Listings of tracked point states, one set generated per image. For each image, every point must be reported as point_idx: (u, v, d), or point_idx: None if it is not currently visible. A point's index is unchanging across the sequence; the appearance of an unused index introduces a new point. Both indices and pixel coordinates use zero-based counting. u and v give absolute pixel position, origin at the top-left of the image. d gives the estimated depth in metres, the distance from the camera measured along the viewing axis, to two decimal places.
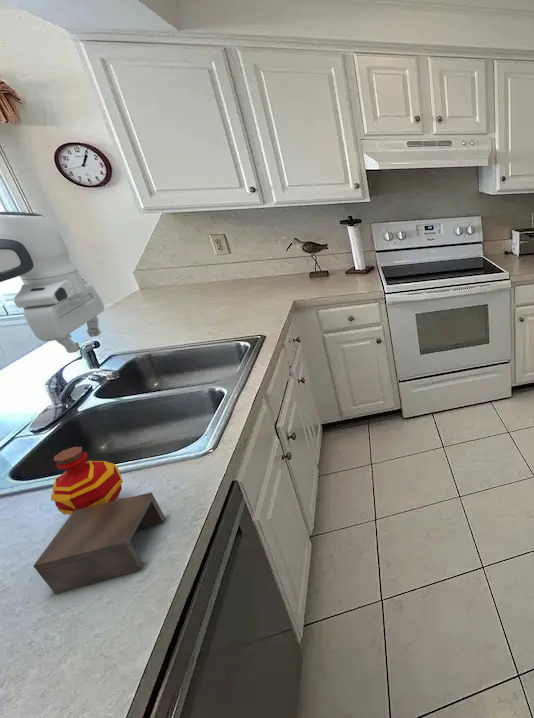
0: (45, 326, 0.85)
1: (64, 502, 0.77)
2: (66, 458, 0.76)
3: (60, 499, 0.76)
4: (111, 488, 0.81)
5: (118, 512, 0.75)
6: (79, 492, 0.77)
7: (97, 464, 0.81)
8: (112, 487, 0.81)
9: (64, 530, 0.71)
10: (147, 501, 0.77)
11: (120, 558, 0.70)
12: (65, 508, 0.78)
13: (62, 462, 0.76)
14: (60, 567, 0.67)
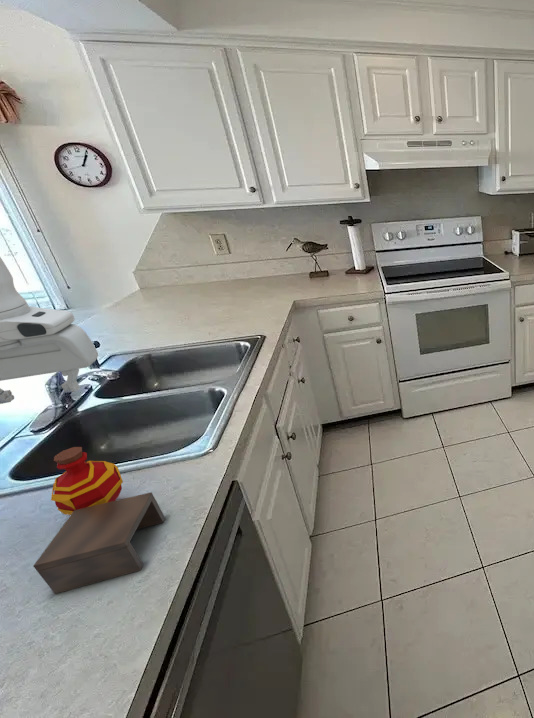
0: (88, 345, 0.74)
1: (64, 502, 0.77)
2: (66, 458, 0.76)
3: (60, 499, 0.76)
4: (111, 488, 0.81)
5: (118, 512, 0.75)
6: (79, 492, 0.77)
7: (97, 464, 0.81)
8: (112, 487, 0.81)
9: (64, 530, 0.71)
10: (147, 501, 0.77)
11: (120, 558, 0.70)
12: (65, 508, 0.78)
13: (62, 462, 0.76)
14: (60, 567, 0.67)
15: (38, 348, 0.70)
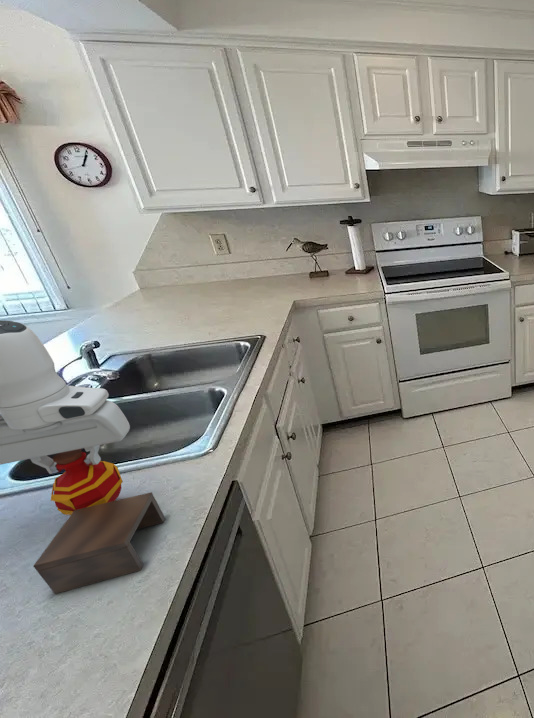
0: (121, 419, 0.79)
1: (64, 502, 0.76)
2: (65, 458, 0.76)
3: (60, 499, 0.76)
4: (111, 488, 0.81)
5: (118, 512, 0.75)
6: (79, 492, 0.77)
7: (97, 464, 0.81)
8: (111, 487, 0.81)
9: (64, 530, 0.71)
10: (147, 501, 0.77)
11: (120, 558, 0.70)
12: (65, 508, 0.78)
13: (62, 462, 0.76)
14: (60, 567, 0.67)
15: (76, 426, 0.75)
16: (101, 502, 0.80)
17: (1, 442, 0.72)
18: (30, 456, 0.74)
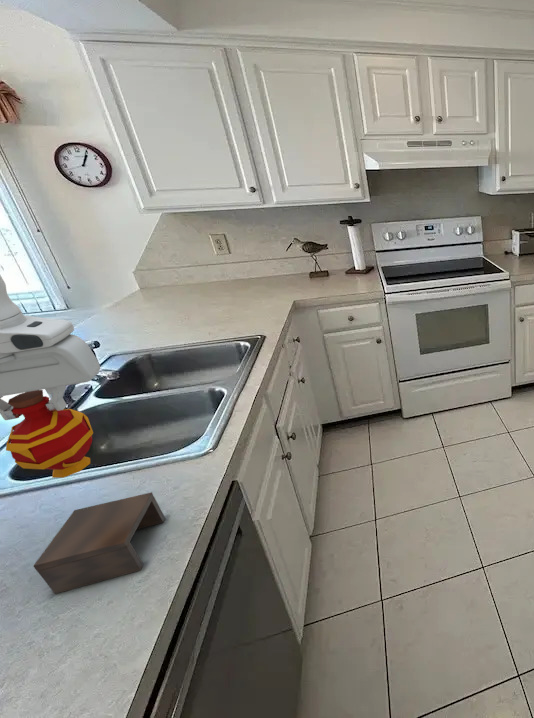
0: (89, 357, 0.68)
1: (21, 452, 0.65)
2: (22, 401, 0.65)
3: (17, 449, 0.65)
4: (79, 439, 0.70)
5: (118, 512, 0.75)
6: (39, 441, 0.66)
7: (62, 411, 0.70)
8: (79, 438, 0.70)
9: (64, 530, 0.71)
10: (147, 501, 0.77)
11: (120, 558, 0.70)
12: (23, 460, 0.66)
13: (18, 405, 0.65)
14: (60, 567, 0.67)
15: (35, 361, 0.64)
16: (67, 454, 0.68)
17: None
18: None
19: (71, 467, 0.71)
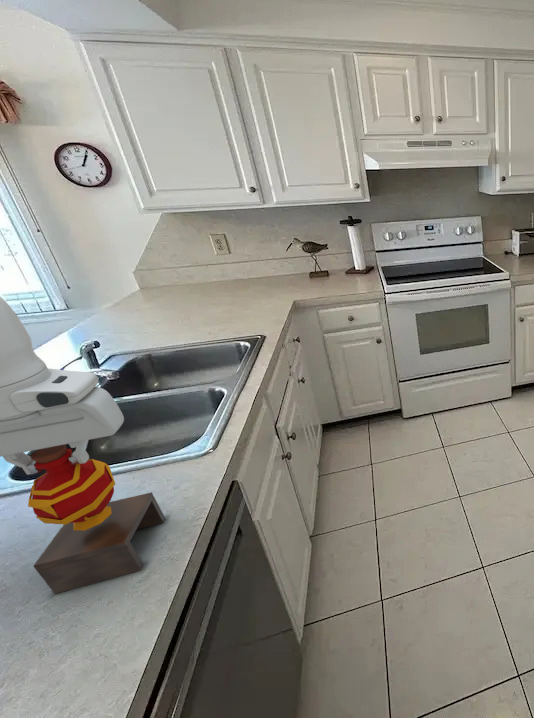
0: (114, 410, 0.66)
1: (44, 509, 0.64)
2: (45, 456, 0.63)
3: (39, 505, 0.63)
4: (101, 491, 0.68)
5: (118, 512, 0.75)
6: (62, 497, 0.64)
7: (84, 463, 0.69)
8: (102, 491, 0.68)
9: (64, 530, 0.71)
10: (147, 501, 0.77)
11: (120, 558, 0.70)
12: (45, 516, 0.65)
13: (41, 460, 0.63)
14: (60, 567, 0.67)
15: (59, 417, 0.62)
16: (89, 508, 0.67)
17: None
18: (2, 453, 0.61)
19: (92, 519, 0.70)
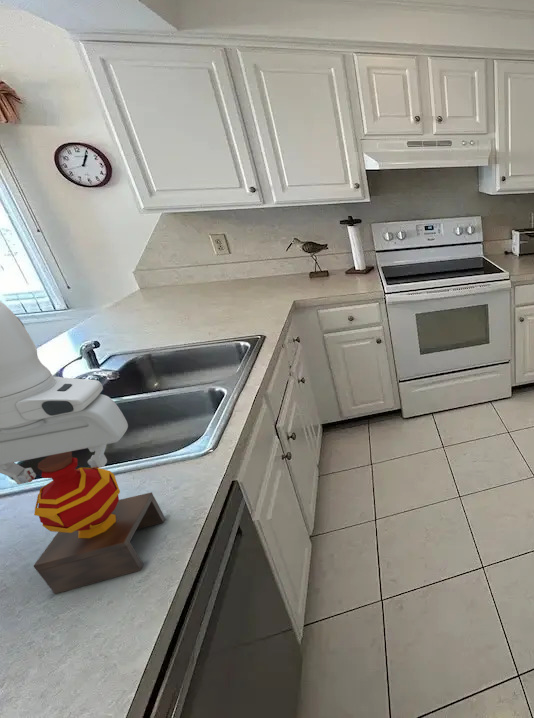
0: (118, 417, 0.67)
1: (50, 517, 0.64)
2: (52, 465, 0.64)
3: (45, 514, 0.64)
4: (106, 500, 0.69)
5: (118, 512, 0.75)
6: (68, 506, 0.65)
7: (90, 471, 0.69)
8: (107, 499, 0.69)
9: None
10: (147, 501, 0.77)
11: (120, 558, 0.70)
12: (51, 524, 0.66)
13: (48, 469, 0.64)
14: (60, 567, 0.67)
15: (64, 424, 0.63)
16: (94, 517, 0.68)
17: None
18: (8, 460, 0.62)
19: (97, 527, 0.70)
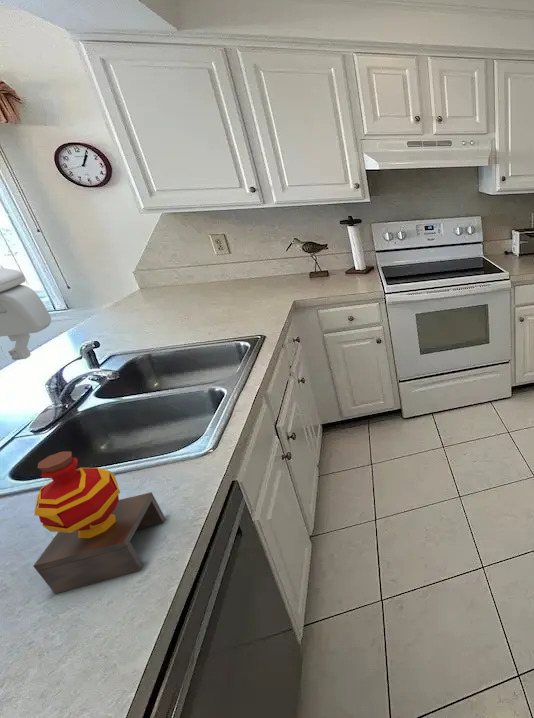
0: (40, 308, 0.68)
1: (50, 517, 0.64)
2: (52, 465, 0.64)
3: (45, 514, 0.64)
4: (106, 500, 0.69)
5: (118, 512, 0.75)
6: (68, 506, 0.65)
7: (90, 471, 0.69)
8: (107, 499, 0.69)
9: None
10: (147, 501, 0.77)
11: (120, 558, 0.70)
12: (51, 524, 0.66)
13: (48, 469, 0.64)
14: (60, 567, 0.67)
15: None
16: (94, 517, 0.68)
17: None
18: None
19: (97, 527, 0.70)
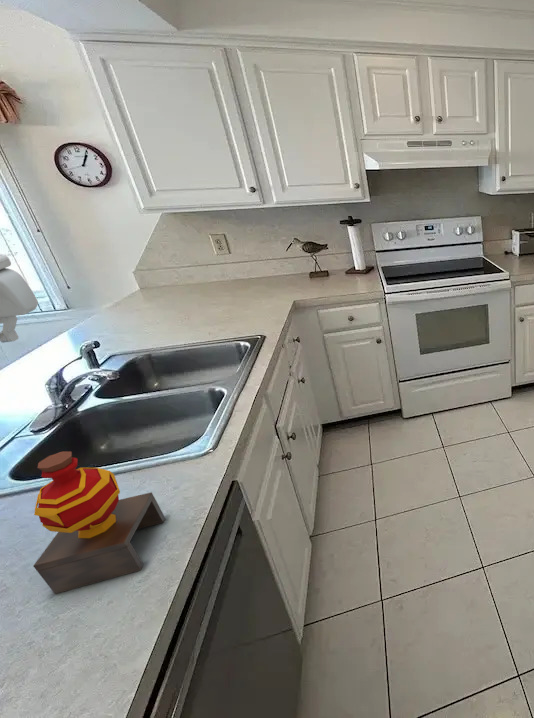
0: (26, 291, 0.70)
1: (50, 517, 0.64)
2: (52, 465, 0.64)
3: (45, 514, 0.64)
4: (106, 500, 0.69)
5: (118, 512, 0.75)
6: (68, 506, 0.65)
7: (90, 471, 0.69)
8: (107, 499, 0.69)
9: None
10: (147, 501, 0.77)
11: (120, 558, 0.70)
12: (51, 524, 0.66)
13: (48, 469, 0.64)
14: (60, 567, 0.67)
15: None
16: (94, 517, 0.68)
17: None
18: None
19: (97, 527, 0.70)
